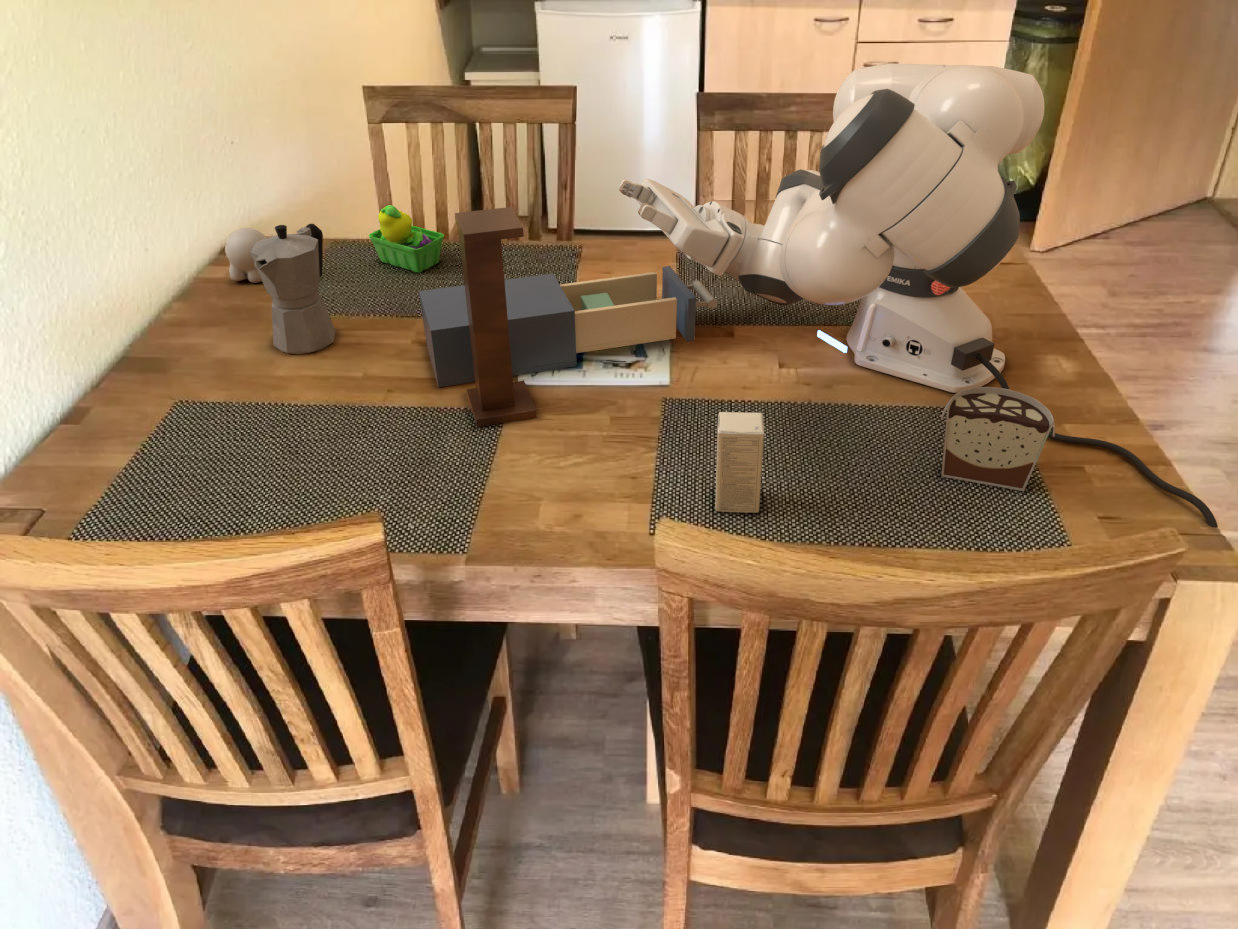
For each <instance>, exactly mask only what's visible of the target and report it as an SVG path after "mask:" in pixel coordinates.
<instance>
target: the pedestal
mask: <svg viewBox="0 0 1238 929" xmlns="http://www.w3.org/2000/svg"><path fill="white" fill-rule="evenodd" d="M454 221H455V225H456V226H457V229H458V240H459V247H460V248H459V249H460V257H461V258H460V259H461V267H462V274H463V275H462V276H463V285H464V286H465V295H466V304H467V313H468V322H469V331H470V341H471V350H472V359H473V368H474V377H475V382H474V384H475V387H472V388H466V390H465V391H466V392H465V393H466V399H467V401H468V404H469V407H470V412H471V414H472V416H473V420H474V424H475V427H476V428H481V427H486V426H492V425H499V424H506V423H512V422H517V421H523V420H529V419H535V418H538V411H537V408H536V406H535V403H534V400H533V399H532V396H531V394H530V391H529V389H528V387H527V384H526V382H525V380H524V379H523V380H517V381H514V378H513V377H514V376H512V364H511V352H510V340H509V328H508V316H507V304H506V292H505V280H506V279H505V270H504V256H503V247H502V246H503V245H502V240H509V239H517V238H524V237H525V234H524V226H523V224H522V222H521V221H520V219H519V218H518V216H517V214H516V212H515V211H514V209H513V207H512V206H507V207H498V208H489V209H480V210H472V211H471V210H470V211H461V212H454Z"/></svg>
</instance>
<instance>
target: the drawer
mask: <svg viewBox="0 0 1238 929" xmlns="http://www.w3.org/2000/svg"><path fill="white" fill-rule="evenodd" d="M661 274H662V278H661V280H662V281H661V292H662V293H661V298H660V299H659V298H658V297H657V291H658V290H657V289H658V287H657V286H658V282H657V281H658V273H657V272H656V271H652V272H651V271H649V272H644V273H636V274H635V273H634V274H628V275H621V276H613V277H605V278H598V279H590V280H582V281H575V282H569V283H568V282H567V283H559V284H560V286H561V288H562V290H563V291H564V293H565V295H566V296H567V298H568V300H569V302H570V303H571V305H572V307H573V309H574V310H575V333H576V354H580V353H587V352H593V351H601V350H607V349H615V348H621V347H627V346H634V345H640V344H647V343H653V342H661V341H668V340H674V339H676V338H677V330H678V332H679V333H680V335H681V336H682V337H683V338H684V340H685V342H686V343H687V342H693V341H695V337H696V336H695V335H696V334H695V333H696V313H697V312H696V310H697V308H701V307H708V308H709V309H715V308H716V307H717V305H718V300H717V299H716V298H715V296H713V295H712V294H711V292H710V291H709V290H708V289H707V287H706V286H705V285H704V284H703V283H702V282H701V281H700V280H698V279H695V280H694V281H693V282H692V283H691V284H685V282H684V281H683V280H682V279H681V277H679V275H678V274H677V273H676V271H675V270H674V269H673V268H672V267H671V266H670V265H666V266H662V273H661ZM692 290H693V291H694V292H695V293H696V294H697V296H698V297H700V299H701V300H700V301H697V297H696V296H695V295H694V293H693V292H692ZM601 293H608V295H609V297H610V299H611V300H612V302H613V304H614V306H609V307H602V308H595V309H587V310H581V296H585V295H593V294H601ZM657 298H658V299H657Z"/></svg>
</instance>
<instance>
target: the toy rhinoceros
mask: <svg viewBox="0 0 1238 929" xmlns="http://www.w3.org/2000/svg"><path fill="white" fill-rule="evenodd" d="M267 238H268V237H267V236H266V235H265V234H264V233H263V232H261V231H260V230H258V229H255V228H253V227H242V228H238V229H236V230H234V231H233V232H231V233H230V234H229V236H228V237H227V239H226V242H225V246H224V252H225V255H226V259H228V261H229V269H228V273H229V277H230V280H231V281H234V282H240V281H241V282H242V281H243V280H246V279H247V280H248V281H249V282H250V283H252V284H257V283H261V282H262V279H261V277H260V274H259V272H258V270H257V268H256V267H255V262H254V260H253V257H252V255H251V250H252V249H253V247H254V245H255V243H256V242H258V241H261V240H264V239H267Z"/></svg>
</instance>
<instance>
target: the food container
mask: <svg viewBox="0 0 1238 929" xmlns="http://www.w3.org/2000/svg"><path fill="white" fill-rule="evenodd" d="M1009 389H1010V388H1009ZM1009 389H1003V388H1001V387H995V386H982V387H977V388H970V389H966V390H963V391H960V392H959V393H954V395H953V396H952V397H951V398H950V400H948V402H947V403H946V404H945V407H944V409H943V411H942V412H941V415H940V419H943V418H944V416H945V414H946V421H945V430H944V444H943V455H942V465H941V475H940V476H941V477H942V478H947V479H954V480H958V481H964V482H969V483H975V484H981V485H986V486H992V487H997V488H1004V489H1009V490H1015V491H1020V492H1025V489H1026V488H1027V485H1028V483H1029V480H1030V479H1031V476H1032V475H1033V471H1034V469H1035V467H1036V466H1037V463H1038V460H1039V458H1040V456H1041V453H1042V451H1043V449H1044V447H1045V444H1046V441H1047V439H1048V438H1047V437H1048V435H1049V433H1050V431H1051V432H1052V435H1053V437H1055V433H1056V425H1055V421H1054V416H1053V414H1052V412H1051V411H1050V409H1049V408H1048V407H1047V406H1046V405H1045V404H1044V403H1042V402H1040V401H1039V400H1037V399H1036V398H1034V397H1032V396H1030V395H1028V394H1025V393H1022V392H1020V391H1017V390H1012V389H1010V390H1009Z"/></svg>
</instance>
